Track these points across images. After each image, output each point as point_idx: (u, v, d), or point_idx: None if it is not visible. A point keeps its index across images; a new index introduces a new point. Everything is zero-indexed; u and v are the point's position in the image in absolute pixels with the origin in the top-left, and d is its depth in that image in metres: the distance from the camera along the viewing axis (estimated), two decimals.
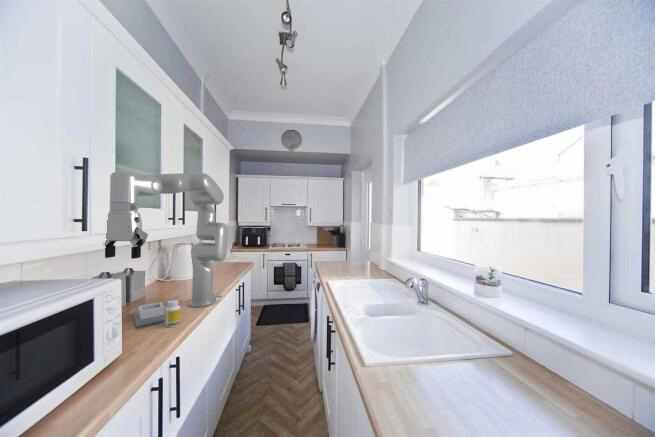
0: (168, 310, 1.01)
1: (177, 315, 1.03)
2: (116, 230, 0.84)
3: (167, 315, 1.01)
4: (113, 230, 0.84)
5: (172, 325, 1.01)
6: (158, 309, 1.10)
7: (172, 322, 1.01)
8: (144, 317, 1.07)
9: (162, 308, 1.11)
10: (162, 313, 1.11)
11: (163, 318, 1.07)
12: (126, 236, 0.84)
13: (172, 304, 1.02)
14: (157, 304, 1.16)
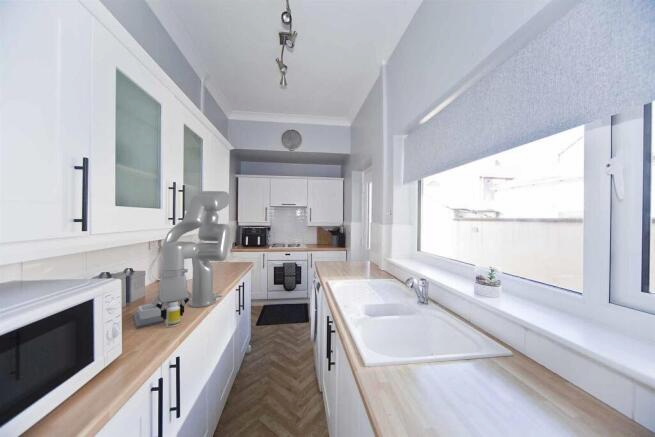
0: (168, 310, 1.01)
1: (177, 315, 1.03)
2: (173, 292, 1.02)
3: (167, 315, 1.01)
4: (170, 293, 1.01)
5: (172, 325, 1.01)
6: (158, 309, 1.10)
7: (172, 322, 1.01)
8: (144, 317, 1.07)
9: None
10: None
11: None
12: (182, 295, 1.04)
13: (172, 304, 1.02)
14: None
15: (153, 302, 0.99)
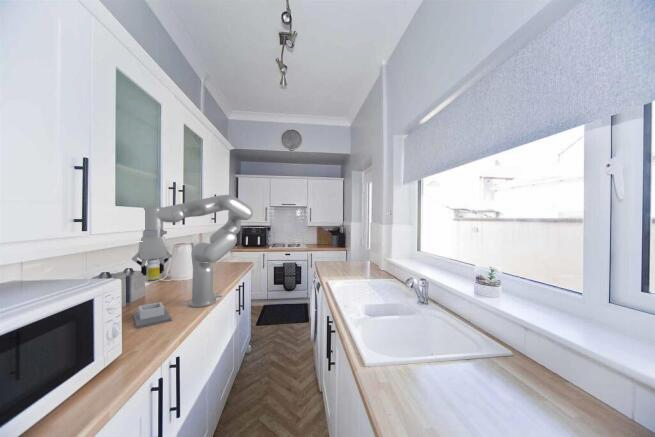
0: (148, 267, 1.09)
1: (156, 272, 1.11)
2: (153, 251, 1.10)
3: (147, 271, 1.09)
4: (149, 251, 1.09)
5: (152, 281, 1.09)
6: (158, 309, 1.10)
7: (152, 278, 1.09)
8: (144, 317, 1.07)
9: (162, 308, 1.11)
10: (162, 313, 1.11)
11: (163, 318, 1.07)
12: (162, 254, 1.12)
13: (152, 262, 1.10)
14: (157, 304, 1.16)
15: (133, 259, 1.07)
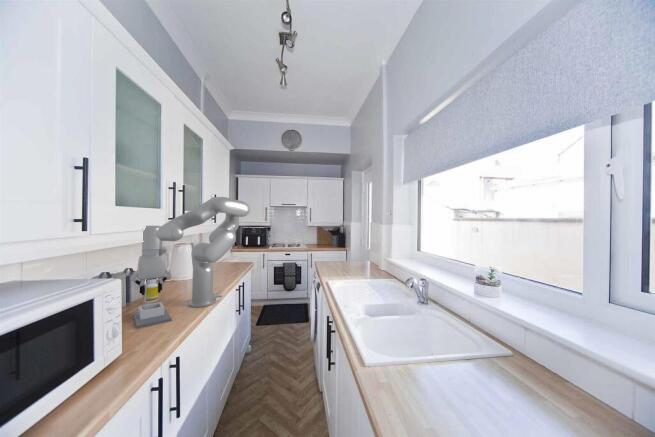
0: (146, 286, 1.09)
1: (155, 292, 1.11)
2: (151, 270, 1.10)
3: (145, 291, 1.09)
4: (148, 271, 1.09)
5: (150, 300, 1.09)
6: (158, 309, 1.10)
7: (150, 298, 1.09)
8: (144, 317, 1.07)
9: (162, 308, 1.11)
10: (162, 313, 1.11)
11: (163, 318, 1.07)
12: (160, 274, 1.12)
13: (150, 281, 1.10)
14: (157, 304, 1.16)
15: (132, 278, 1.07)
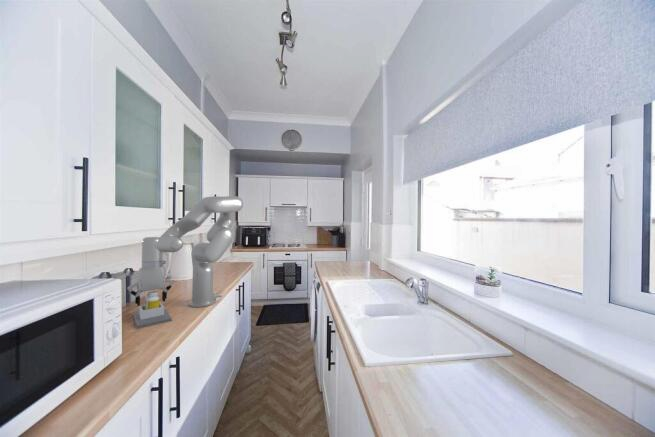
0: (147, 300, 1.09)
1: (156, 305, 1.11)
2: (151, 282, 1.10)
3: (146, 305, 1.09)
4: (148, 283, 1.09)
5: None
6: (158, 309, 1.10)
7: None
8: (144, 317, 1.07)
9: (162, 308, 1.11)
10: (162, 313, 1.11)
11: (163, 318, 1.07)
12: (160, 285, 1.12)
13: (151, 295, 1.10)
14: None
15: (129, 288, 1.06)
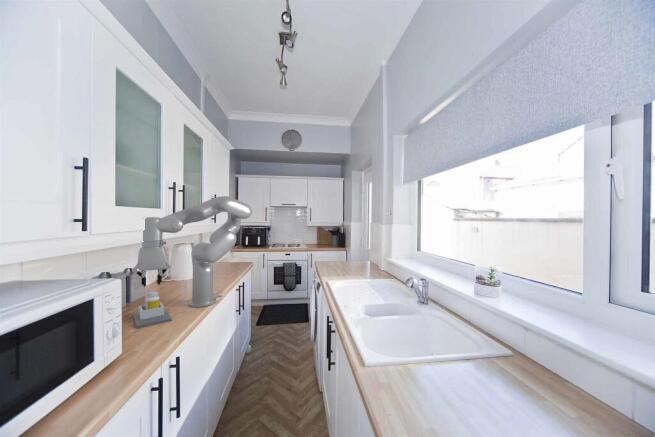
0: (147, 300, 1.09)
1: (156, 305, 1.11)
2: (152, 262, 1.10)
3: (146, 305, 1.09)
4: (148, 262, 1.09)
5: None
6: (158, 309, 1.10)
7: None
8: (144, 317, 1.07)
9: (162, 308, 1.11)
10: (162, 313, 1.11)
11: (163, 318, 1.07)
12: (161, 265, 1.12)
13: (151, 295, 1.10)
14: None
15: (133, 270, 1.07)
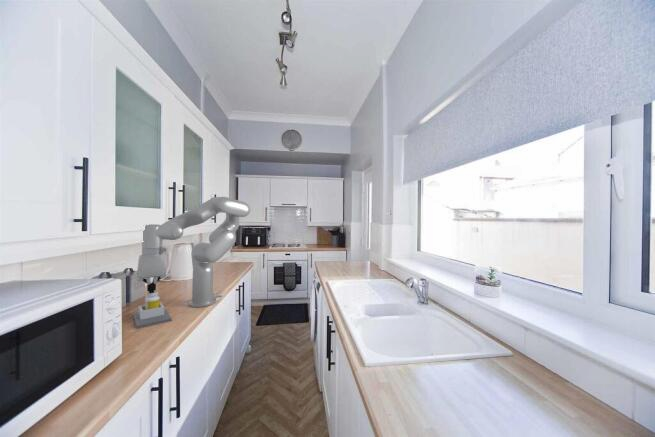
0: (147, 300, 1.09)
1: (156, 305, 1.11)
2: (152, 269, 1.10)
3: (146, 305, 1.09)
4: (148, 270, 1.09)
5: None
6: (158, 309, 1.10)
7: None
8: (144, 317, 1.07)
9: (162, 308, 1.11)
10: (162, 313, 1.11)
11: (163, 318, 1.07)
12: (161, 272, 1.12)
13: (151, 295, 1.10)
14: None
15: (138, 279, 1.08)
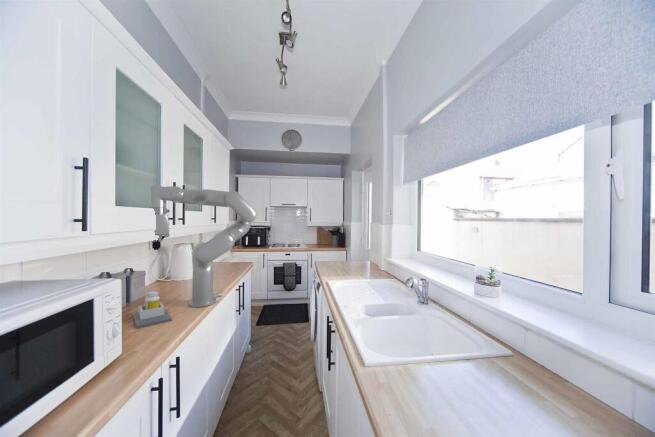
0: (147, 300, 1.09)
1: (156, 305, 1.11)
2: (156, 227, 1.18)
3: (146, 305, 1.09)
4: None
5: None
6: (158, 309, 1.10)
7: None
8: (144, 317, 1.07)
9: (162, 308, 1.11)
10: (162, 313, 1.11)
11: (163, 318, 1.07)
12: (165, 231, 1.20)
13: (151, 295, 1.10)
14: None
15: None
